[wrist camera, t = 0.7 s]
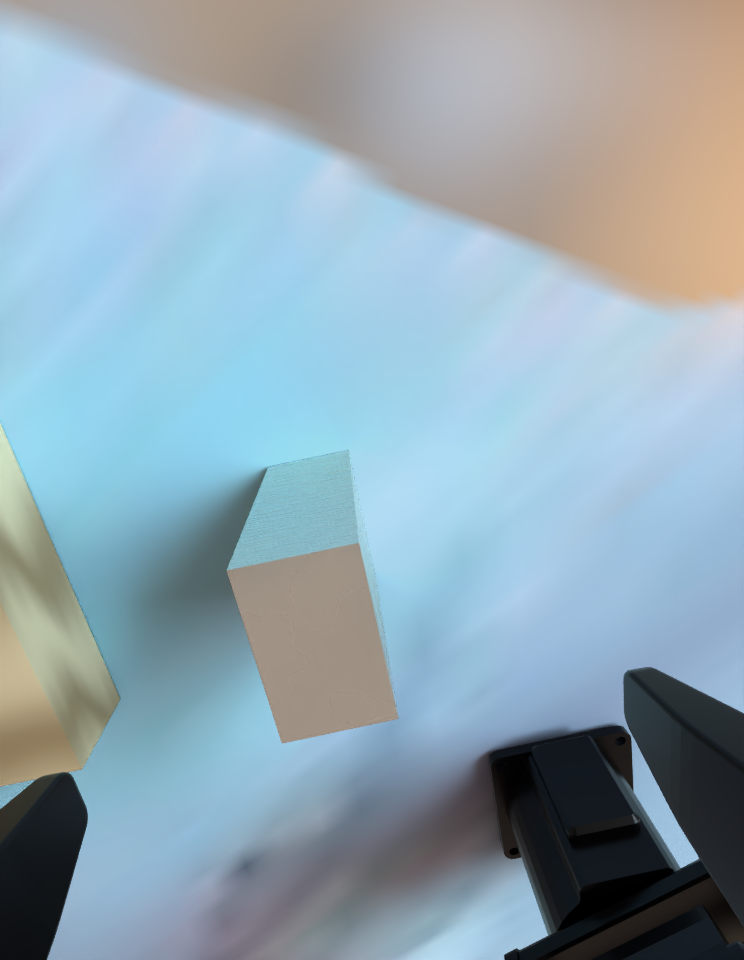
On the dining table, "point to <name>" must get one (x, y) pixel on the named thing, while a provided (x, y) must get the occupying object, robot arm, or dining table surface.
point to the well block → (42, 647)
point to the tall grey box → (313, 600)
